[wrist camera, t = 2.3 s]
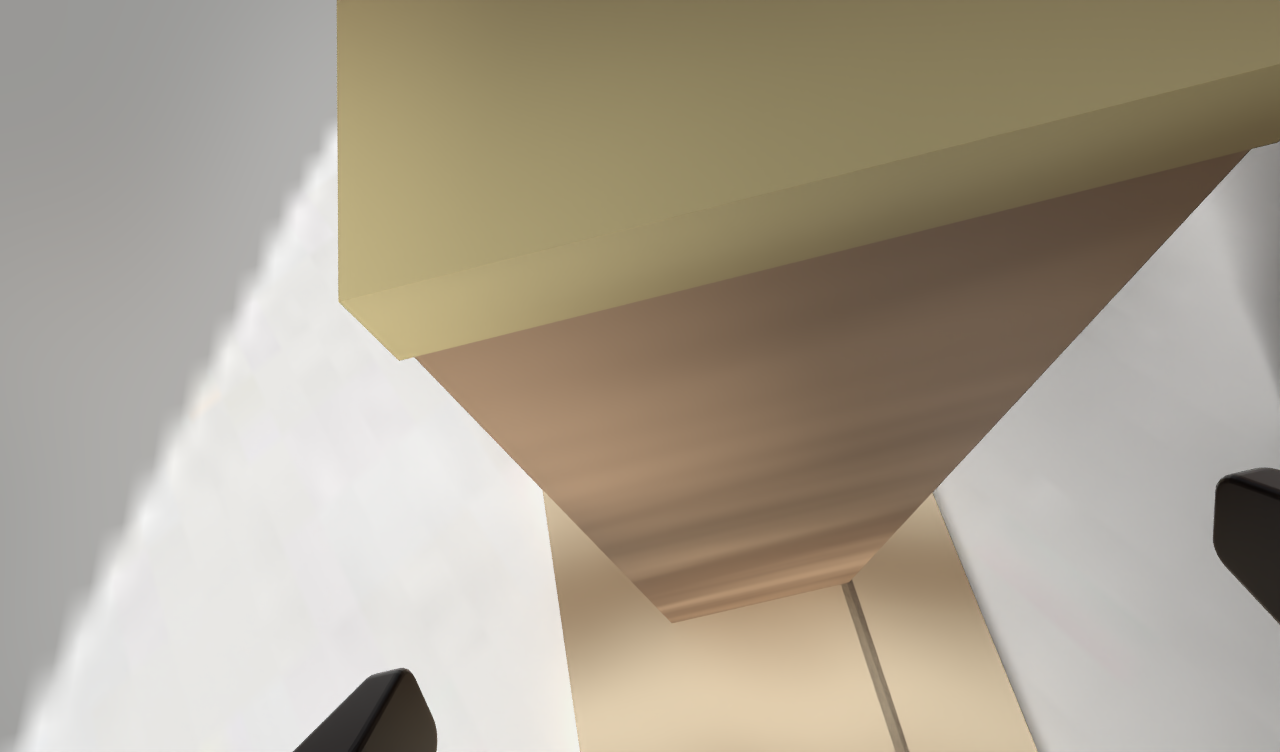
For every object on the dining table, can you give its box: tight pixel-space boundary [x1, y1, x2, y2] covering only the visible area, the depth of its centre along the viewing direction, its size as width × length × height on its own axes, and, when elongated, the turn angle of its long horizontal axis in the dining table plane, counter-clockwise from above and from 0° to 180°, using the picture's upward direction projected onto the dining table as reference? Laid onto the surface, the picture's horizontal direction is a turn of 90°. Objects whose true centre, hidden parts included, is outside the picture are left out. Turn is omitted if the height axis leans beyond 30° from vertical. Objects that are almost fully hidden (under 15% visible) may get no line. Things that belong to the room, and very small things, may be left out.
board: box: [543, 491, 1038, 752], centre depth 18 cm, size 22×10×1 cm, turn 12°
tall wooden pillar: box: [337, 0, 1280, 623], centre depth 11 cm, size 5×5×16 cm
